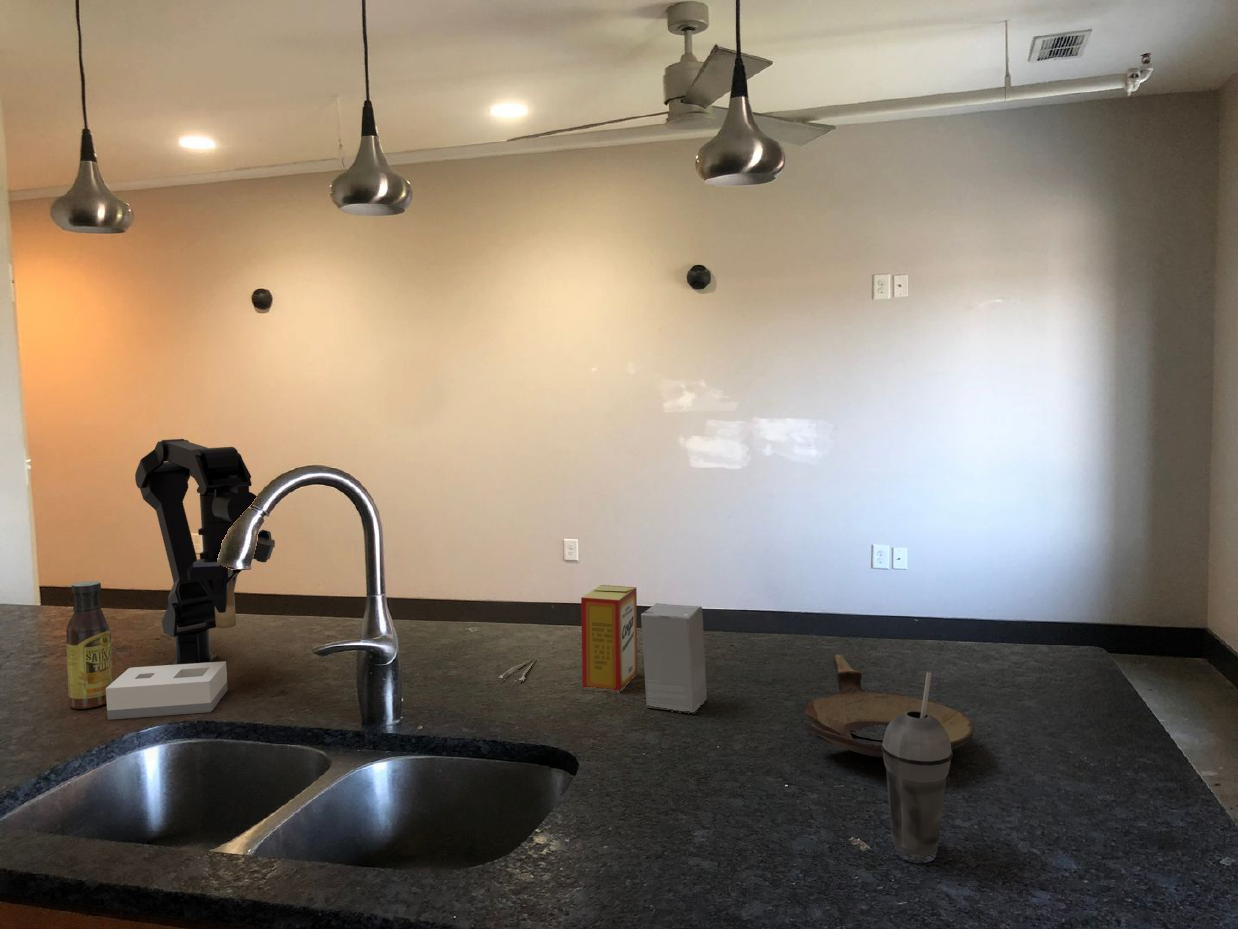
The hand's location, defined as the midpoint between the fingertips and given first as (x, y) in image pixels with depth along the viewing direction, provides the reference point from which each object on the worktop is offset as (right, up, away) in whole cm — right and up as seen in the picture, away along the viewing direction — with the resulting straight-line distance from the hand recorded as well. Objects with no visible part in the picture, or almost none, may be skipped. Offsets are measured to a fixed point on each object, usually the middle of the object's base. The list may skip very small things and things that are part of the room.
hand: (224, 609), depth 151 cm
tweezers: (+52, -12, +7) cm, 53 cm away
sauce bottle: (-18, -14, -9) cm, 24 cm away
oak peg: (0, -3, 0) cm, 3 cm away
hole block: (-4, -14, -10) cm, 17 cm away
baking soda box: (+67, -12, -2) cm, 68 cm away
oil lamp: (+106, -14, -27) cm, 110 cm away
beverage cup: (+100, -17, -56) cm, 116 cm away
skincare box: (+77, -13, -13) cm, 79 cm away
